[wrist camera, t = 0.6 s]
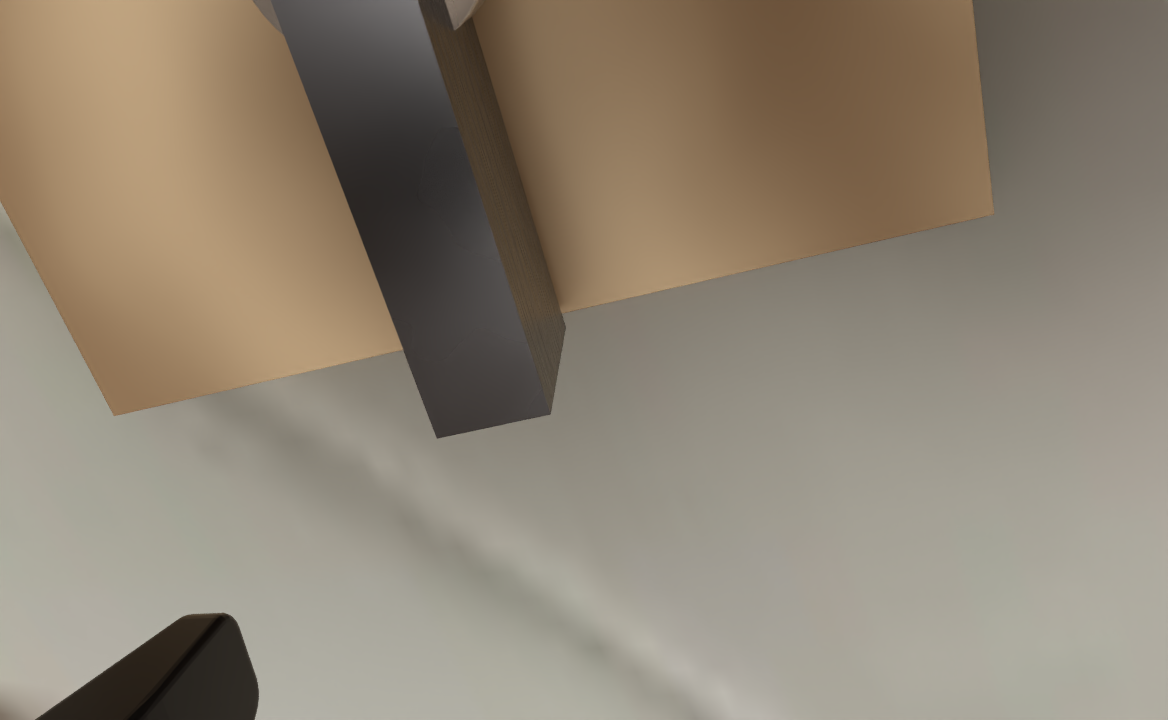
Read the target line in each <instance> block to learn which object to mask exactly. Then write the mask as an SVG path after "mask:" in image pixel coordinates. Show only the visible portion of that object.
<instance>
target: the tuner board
mask: <svg viewBox="0 0 1168 720" xmlns="http://www.w3.org/2000/svg"><path fill="white" fill-rule="evenodd" d="M472 18H473V22H474V25H475V28H476V32H477V35H478V38H479V42H480V45H481V48H482V51H483V55H484V58H485V61H486V65H487V68H488V71H489V75H490V78H491V81H492V85H493V88H494V91H495V94H496V98H497V101H498V104H499V108H500V111H501V114H502V118H503V121H504V124H505V128H506V131H507V134H508V138H509V141H510V144H511V147H512V151H513V154H514V157H515V161H516V164H517V167H518V171H519V174H520V177H521V181H522V184H523V187H524V190H525V194H526V197H527V200H528V204H529V207H530V210H531V214H532V217H533V220H534V224H535V227H536V230H537V234H538V237H539V240H540V243H541V247H542V250H543V253H544V257H545V260H546V263H547V267H548V270H549V273H550V277H551V280H552V283H553V286H554V290H555V293H556V296H557V300H558V303H559V306H560V310H561V313H566V312H570V311H575V310H579V309H583V308H588V307H592V306H597V305H601V304H605V303H610V302H614V301H618V300H623V299H627V298H631V297H636V296H640V295H645V294H649V293H653V292H658V291H662V290H666V289H671V288H675V287H679V286H684V285H688V284H693V283H697V282H701V281H706V280H710V279H714V278H719V277H723V276H727V275H732V274H736V273H741V272H745V271H749V270H754V269H758V268H762V267H767V266H771V265H775V264H780V263H784V262H789V261H793V260H797V259H802V258H806V257H810V256H815V255H819V254H824V253H828V252H832V251H837V250H841V249H845V248H850V247H854V246H858V245H863V244H867V243H872V242H876V241H880V240H885V239H889V238H893V237H898V236H902V235H906V234H911V233H915V232H920V231H924V230H928V229H933V228H937V227H941V226H946V225H950V224H954V223H959V222H963V221H968V220H972V219H976V218H981V217H985V216H989V215H994V208H993V198H992V188H991V178H990V169H989V159H988V149H987V139H986V129H985V120H984V110H983V100H982V90H981V80H980V71H979V61H978V51H977V41H976V31H975V22H974V12H973V2H972V0H485V1H484V3H483V4H482V5H481V7H480V8H479V9H478V10H477V12H476V13H475V14H474V15H473V16H472ZM0 201H1V203H2V205H3V207H4V209H5V211H6V212H7V214H8V216H9V218H10V220H11V222H12V224H13V226H14V228H15V229H16V231H17V233H18V235H19V237H20V239H21V241H22V243H23V245H24V246H25V248H26V250H27V252H28V254H29V256H30V258H31V260H32V262H33V263H34V265H35V267H36V269H37V271H38V273H39V275H40V277H41V279H42V280H43V282H44V284H45V286H46V288H47V290H48V292H49V294H50V296H51V298H52V299H53V301H54V303H55V305H56V307H57V309H58V311H59V313H60V315H61V316H62V318H63V320H64V322H65V324H66V326H67V328H68V330H69V332H70V333H71V335H72V337H73V339H74V341H75V343H76V345H77V347H78V349H79V350H80V352H81V354H82V356H83V358H84V360H85V362H86V364H87V366H88V367H89V369H90V371H91V373H92V375H93V377H94V379H95V381H96V383H97V385H98V386H99V388H100V390H101V392H102V394H103V396H104V398H105V400H106V402H107V403H108V405H109V407H110V409H111V411H112V413H113V415H114V416H116V415H121V414H125V413H130V412H134V411H138V410H143V409H147V408H151V407H156V406H160V405H164V404H169V403H173V402H178V401H182V400H186V399H191V398H195V397H199V396H204V395H208V394H213V393H217V392H221V391H226V390H230V389H234V388H239V387H243V386H247V385H252V384H256V383H261V382H265V381H269V380H274V379H278V378H282V377H287V376H291V375H295V374H300V373H304V372H309V371H313V370H317V369H322V368H326V367H330V366H335V365H339V364H343V363H348V362H352V361H357V360H361V359H365V358H370V357H374V356H378V355H383V354H387V353H391V352H396V351H400V350H403V348H402V345H401V342H400V340H399V337H398V334H397V332H396V329H395V327H394V324H393V321H392V319H391V316H390V313H389V311H388V308H387V305H386V303H385V300H384V298H383V295H382V292H381V290H380V287H379V284H378V282H377V279H376V277H375V274H374V271H373V269H372V266H371V263H370V261H369V258H368V255H367V253H366V250H365V248H364V245H363V242H362V240H361V237H360V234H359V232H358V229H357V226H356V224H355V221H354V219H353V216H352V213H351V211H350V208H349V205H348V203H347V200H346V198H345V195H344V192H343V190H342V187H341V184H340V182H339V179H338V176H337V174H336V171H335V169H334V166H333V163H332V161H331V158H330V155H329V153H328V150H327V148H326V145H325V142H324V140H323V137H322V134H321V132H320V129H319V126H318V124H317V121H316V119H315V116H314V113H313V111H312V108H311V105H310V103H309V100H308V97H307V95H306V92H305V90H304V87H303V84H302V82H301V79H300V76H299V74H298V71H297V69H296V66H295V63H294V61H293V58H292V55H291V53H290V50H289V47H288V45H287V42H286V40H285V37H284V35H283V34H281V33H280V32H279V31H278V30H277V29H276V28H275V27H274V26H273V25H272V24H271V23H270V22H269V21H268V20H267V19H266V18H265V17H264V15H263V14H262V13H261V11H260V10H259V9H258V7H257V6H256V5H255V3H254V2H253V0H0Z"/></svg>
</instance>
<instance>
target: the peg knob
mask: <svg viewBox="0 0 1168 720" xmlns="http://www.w3.org/2000/svg"><path fill="white" fill-rule="evenodd" d="M484 1H485V0H253V2H254V3H255V5H256V6H257V7H258V9H259V10H260V11H261V13H262V14H263V15H264V17H265V18H266V19H267V20H268V21H269V22H270V23H271V24H272V25H273V26H274V27H275V28H276V29H277V30H278V31H279V32H280V33H281V34H283V35H284V37H285V40H286V42H287V45H288V47H289V50H290V53H291V55H292V58H293V61H294V63H295V66H296V69H297V71H298V74H299V76H300V79H301V82H302V84H303V87H304V90H305V92H306V95H307V97H308V100H309V103H310V105H311V108H312V111H313V113H314V116H315V119H316V121H317V124H318V126H319V129H320V132H321V134H322V137H323V140H324V142H325V145H326V148H327V150H328V153H329V155H330V158H331V161H332V163H333V166H334V169H335V171H336V174H337V176H338V179H339V182H340V184H341V187H342V190H343V192H344V195H345V198H346V200H347V203H348V205H349V208H350V211H351V213H352V216H353V219H354V221H355V224H356V226H357V229H358V232H359V234H360V237H361V240H362V242H363V245H364V248H365V250H366V253H367V255H368V258H369V261H370V263H371V266H372V269H373V271H374V274H375V277H376V279H377V282H378V284H379V287H380V290H381V292H382V295H383V298H384V300H385V303H386V305H387V308H388V311H389V313H390V316H391V319H392V321H393V324H394V327H395V329H396V332H397V334H398V337H399V340H400V342H401V345H402V348H403V350H404V353H405V355H406V358H407V361H408V363H409V366H410V369H411V371H412V374H413V377H414V379H415V382H416V384H417V387H418V390H419V392H420V395H421V398H422V400H423V403H424V406H425V408H426V411H427V413H428V416H429V419H430V421H431V424H432V427H433V429H434V432H435V434H436V437H437V438H442V437H446V436H451V435H456V434H460V433H465V432H470V431H474V430H479V429H484V428H489V427H493V426H498V425H503V424H507V423H512V422H517V421H522V420H526V419H531V418H536V417H540V416H545V415H550V414H551V409H552V404H553V398H554V392H555V386H556V381H557V375H558V369H559V364H560V358H561V352H562V346H563V341H564V335H565V329H566V326H565V323H564V320H563V316H562V313H561V310H560V306H559V303H558V300H557V296H556V293H555V290H554V286H553V283H552V280H551V277H550V273H549V270H548V267H547V263H546V260H545V257H544V253H543V250H542V247H541V243H540V240H539V237H538V234H537V230H536V227H535V224H534V220H533V217H532V214H531V210H530V207H529V204H528V200H527V197H526V194H525V190H524V187H523V184H522V181H521V177H520V174H519V171H518V167H517V164H516V161H515V157H514V154H513V151H512V147H511V144H510V141H509V138H508V134H507V131H506V128H505V124H504V121H503V118H502V114H501V111H500V108H499V104H498V101H497V98H496V94H495V91H494V88H493V85H492V81H491V78H490V75H489V71H488V68H487V65H486V61H485V58H484V55H483V51H482V48H481V45H480V42H479V38H478V35H477V32H476V28H475V25H474V22H473V18H472V16H473V15H474V14H475V13H476V12H477V10H478V9H479V8H480V7H481V5H482V4H483V3H484Z"/></svg>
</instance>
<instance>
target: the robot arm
mask: <svg viewBox="0 0 1168 720" xmlns="http://www.w3.org/2000/svg"><path fill="white" fill-rule="evenodd" d="M258 700H259V689H258V682H257V678H256V675H255V672H254V669H253V666H252V663H251V661H250V658H249V655H248V652H247V649H246V646H245V643H244V640H243V637H242V634H241V631H240V628H239V626H238V624H237V621H236V620H235V619H234V618H233V617H232V616H231V615H228V614H226V613H209V614H191V615H186V616H183V617H181V618H180V619H178V620H177V621H175V622H174V623H172V624H171V625H170V626H168V627H167V628H165V629H164V630H162V631H161V632H160V633H158V634H157V635H155V636H154V637H152V638H151V639H150V640H148V641H147V642H145V643H144V644H142V645H141V646H140V647H138V648H137V649H135V650H134V651H132V652H131V653H130V654H128V655H127V656H125V657H124V658H122V659H121V660H120V661H118V662H117V663H115V664H114V665H113V666H111V667H110V668H108V669H107V670H105V671H104V672H103V673H101V674H100V675H98V676H97V677H95V678H94V679H93V680H91V681H90V682H88V683H87V684H85V685H84V686H83V687H81V688H80V689H78V690H77V691H75V692H74V693H73V694H71V695H70V696H68V697H67V698H65V699H64V700H63V701H61V702H60V703H58V704H57V705H55V706H54V707H53V708H51V709H50V710H48V711H47V712H45V713H44V714H43V715H41V716H40V717H38V718H37V719H35V720H255V716H256V712H257V708H258Z"/></svg>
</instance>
